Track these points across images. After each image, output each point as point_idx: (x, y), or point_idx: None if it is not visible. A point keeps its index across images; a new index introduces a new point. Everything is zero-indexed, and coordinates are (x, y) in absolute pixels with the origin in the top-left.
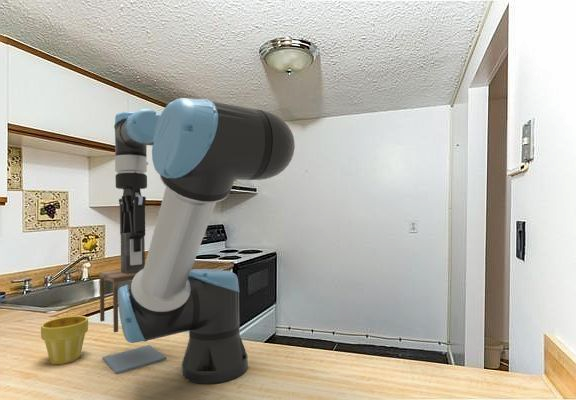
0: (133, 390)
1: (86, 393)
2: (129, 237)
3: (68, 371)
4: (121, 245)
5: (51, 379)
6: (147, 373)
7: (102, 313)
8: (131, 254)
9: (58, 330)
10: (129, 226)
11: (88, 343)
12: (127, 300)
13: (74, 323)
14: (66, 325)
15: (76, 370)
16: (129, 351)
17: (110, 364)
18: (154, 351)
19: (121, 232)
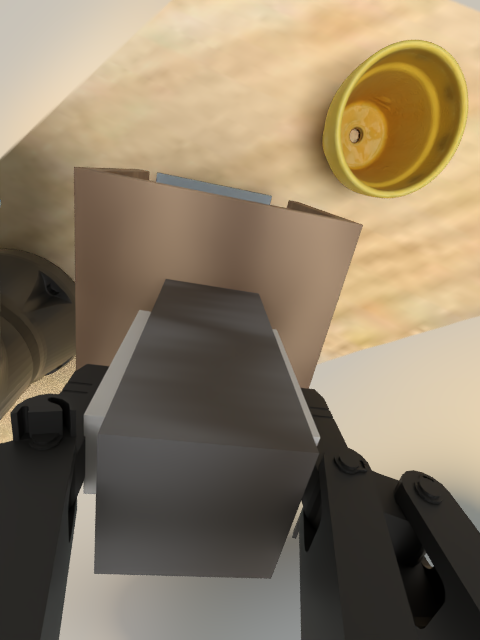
0: (44, 153)
1: (107, 75)
2: (25, 405)
3: (268, 106)
4: (268, 368)
5: (255, 54)
6: None
7: (293, 207)
8: (123, 343)
9: (350, 77)
10: (317, 605)
11: (401, 224)
12: None
13: (415, 174)
14: (430, 153)
15: (257, 122)
16: None
17: (211, 186)
18: None
19: (410, 494)
